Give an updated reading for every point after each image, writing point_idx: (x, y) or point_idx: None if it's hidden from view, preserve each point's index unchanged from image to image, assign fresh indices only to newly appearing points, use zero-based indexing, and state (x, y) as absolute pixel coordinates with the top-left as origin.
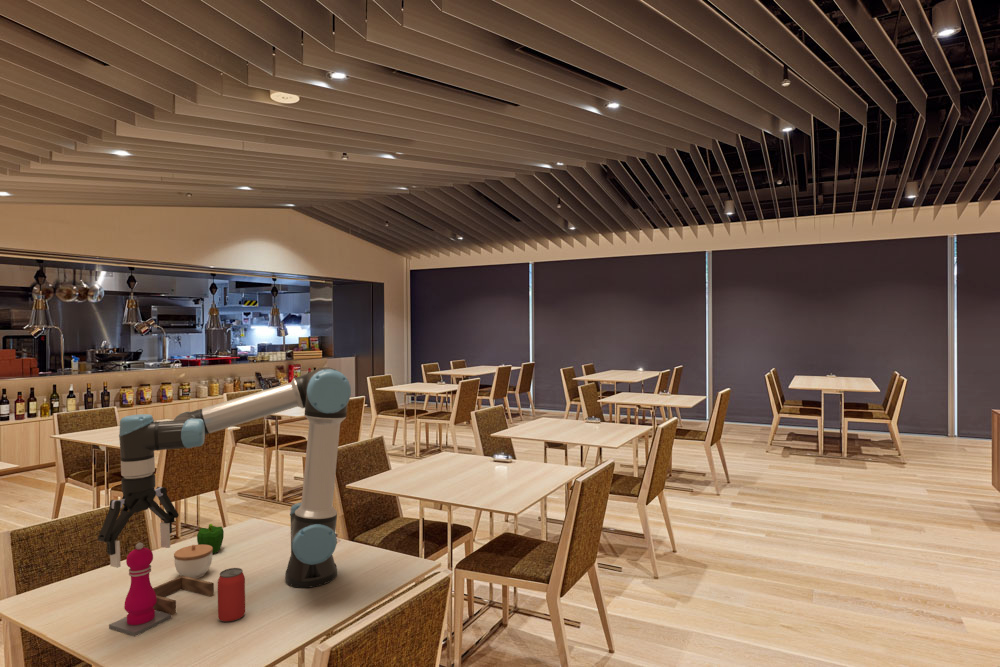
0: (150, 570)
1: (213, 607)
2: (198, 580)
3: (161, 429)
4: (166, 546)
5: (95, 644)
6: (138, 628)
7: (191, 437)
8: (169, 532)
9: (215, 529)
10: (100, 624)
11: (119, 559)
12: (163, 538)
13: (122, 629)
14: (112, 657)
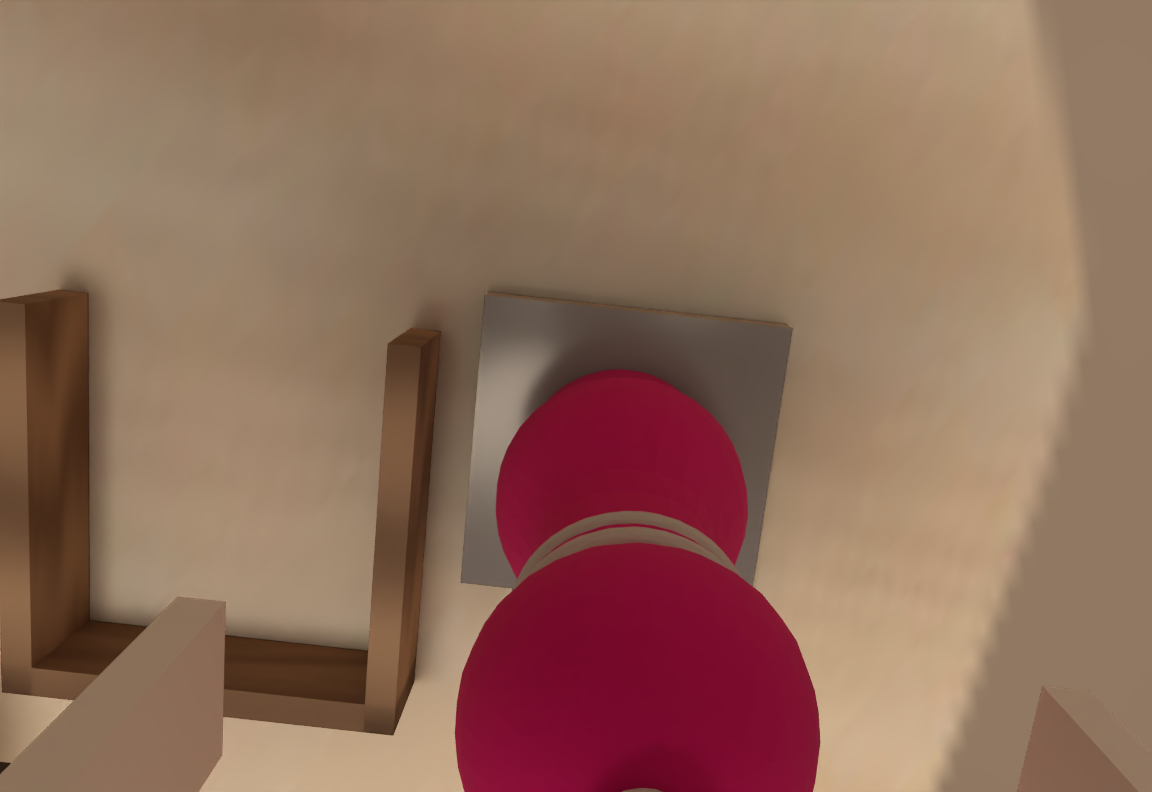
0: (566, 533)
1: (225, 112)
2: (15, 476)
3: None
4: (213, 644)
5: (943, 496)
6: (734, 356)
7: None
8: (31, 751)
9: None
10: None
11: (1122, 755)
12: (152, 790)
13: (770, 466)
14: (1062, 221)
